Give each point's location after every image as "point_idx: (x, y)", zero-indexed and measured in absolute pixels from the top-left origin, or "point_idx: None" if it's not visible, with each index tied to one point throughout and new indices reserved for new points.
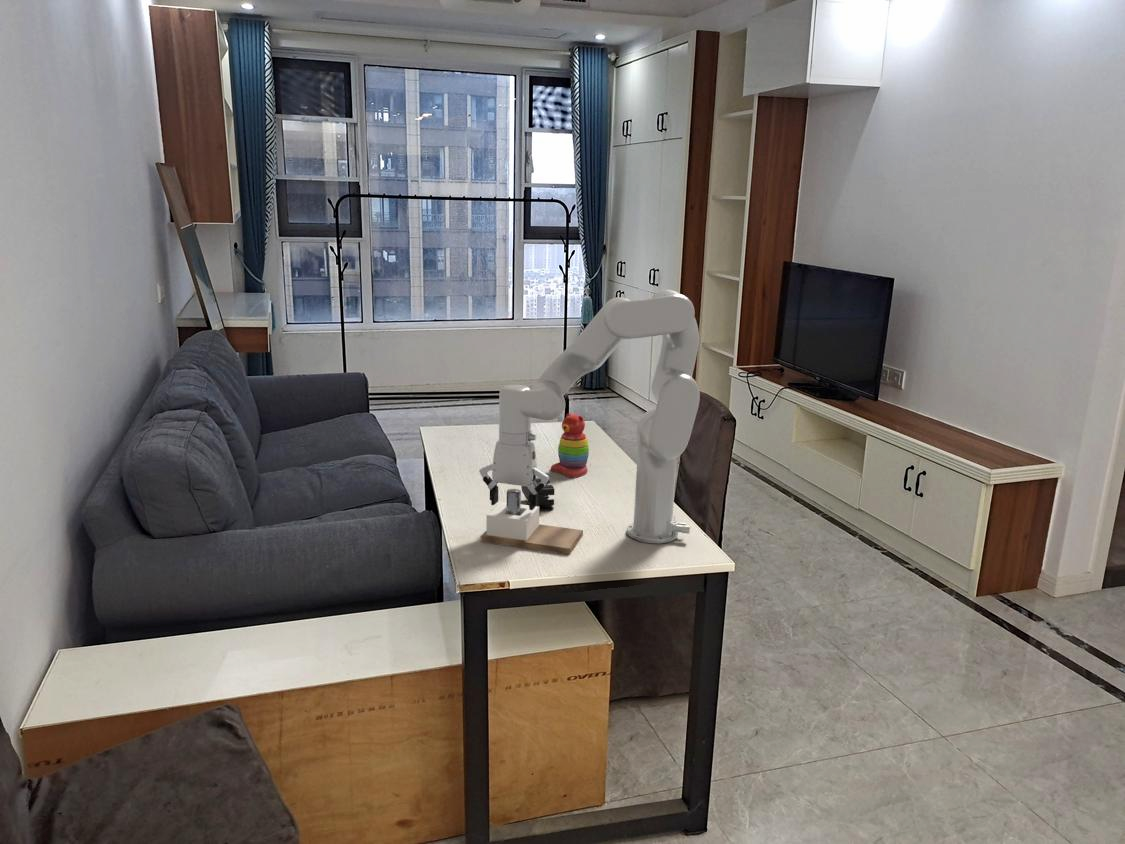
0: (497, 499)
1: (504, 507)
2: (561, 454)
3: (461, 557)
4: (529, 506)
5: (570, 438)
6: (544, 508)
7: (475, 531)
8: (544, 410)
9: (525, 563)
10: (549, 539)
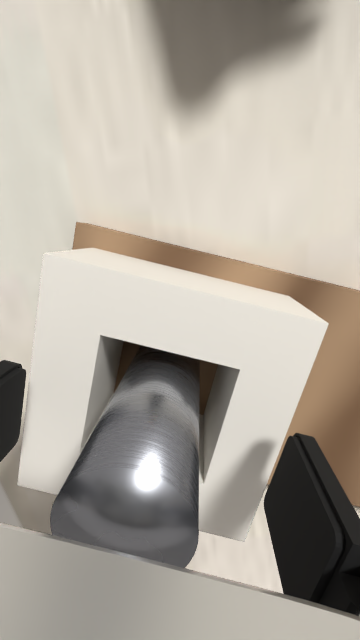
0: (13, 391)
1: (89, 359)
2: None
3: (30, 528)
4: (269, 522)
5: None
6: None
7: (11, 316)
8: None
9: (234, 559)
10: (331, 444)
